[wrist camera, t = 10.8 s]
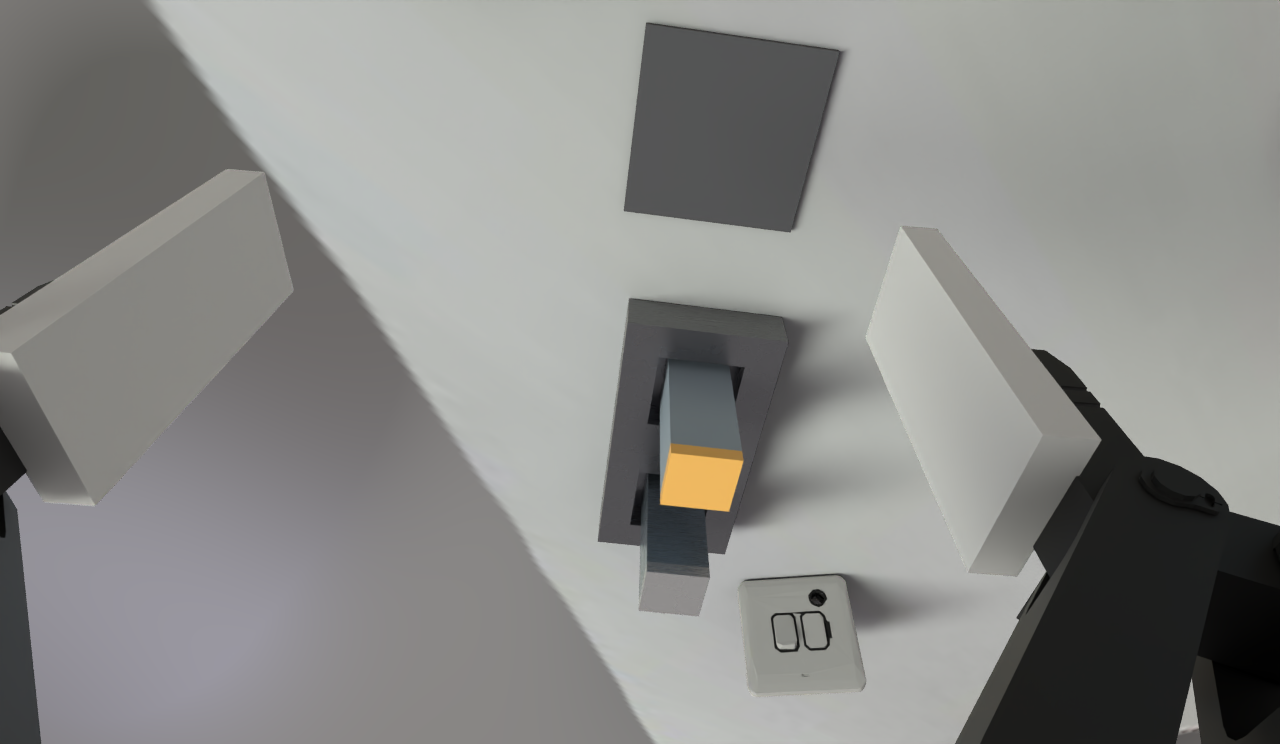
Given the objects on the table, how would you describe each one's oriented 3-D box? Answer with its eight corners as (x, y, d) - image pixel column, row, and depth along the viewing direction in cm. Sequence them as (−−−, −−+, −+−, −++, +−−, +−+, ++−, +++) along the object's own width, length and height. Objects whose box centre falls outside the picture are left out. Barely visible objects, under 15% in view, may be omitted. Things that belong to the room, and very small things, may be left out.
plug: (728, 357, 45) (743, 460, 37) (716, 404, 48) (728, 511, 40) (668, 350, 45) (670, 453, 37) (659, 398, 48) (660, 504, 39)
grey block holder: (781, 316, 45) (812, 425, 36) (721, 525, 56) (734, 646, 47) (629, 298, 44) (621, 403, 35) (600, 512, 56) (589, 633, 47)
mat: (838, 50, 35) (839, 51, 35) (789, 229, 41) (790, 232, 41) (646, 22, 35) (646, 24, 35) (624, 208, 41) (623, 211, 40)
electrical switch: (844, 571, 59) (870, 677, 52) (840, 603, 63) (864, 707, 56) (735, 577, 60) (747, 683, 53) (737, 608, 64) (748, 712, 57)
